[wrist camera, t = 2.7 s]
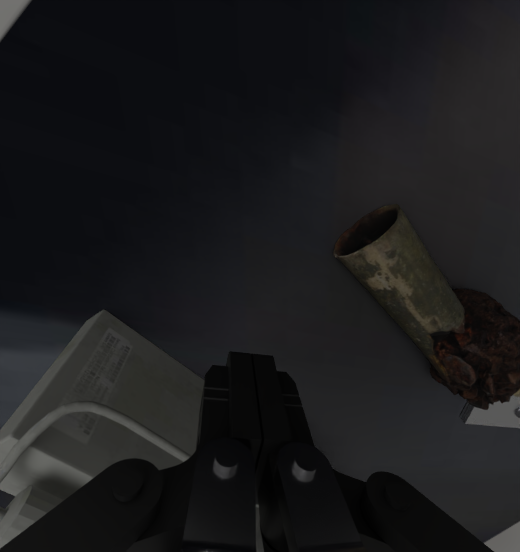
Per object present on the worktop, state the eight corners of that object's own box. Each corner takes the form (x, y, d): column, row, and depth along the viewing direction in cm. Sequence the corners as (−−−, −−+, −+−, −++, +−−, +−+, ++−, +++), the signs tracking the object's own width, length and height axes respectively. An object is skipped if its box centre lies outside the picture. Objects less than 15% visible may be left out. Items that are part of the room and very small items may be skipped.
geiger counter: (-127, 581, 11) (336, 721, 19) (-25, 477, 9) (425, 676, 18) (66, 342, 24) (293, 488, 32) (120, 284, 22) (343, 452, 31)
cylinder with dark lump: (324, 244, 23) (353, 273, 18) (403, 179, 22) (459, 188, 17) (440, 387, 29) (488, 440, 24) (508, 341, 28) (573, 386, 22)
